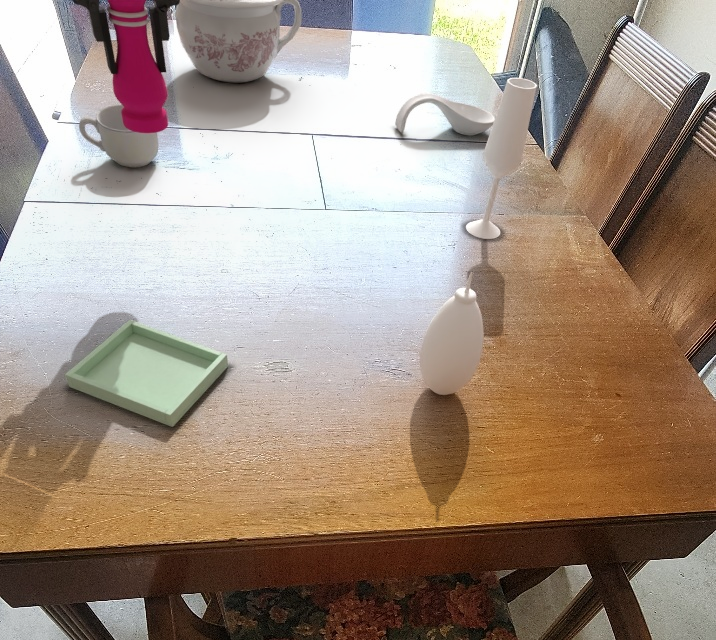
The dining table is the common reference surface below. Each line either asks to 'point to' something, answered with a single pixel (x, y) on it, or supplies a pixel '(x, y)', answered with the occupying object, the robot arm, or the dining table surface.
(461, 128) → the spoon rest
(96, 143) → the teacup
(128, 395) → the tray
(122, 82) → the pepper mill
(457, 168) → the dining table surface
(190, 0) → the chamber pot
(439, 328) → the sauce bottle
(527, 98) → the champagne flute
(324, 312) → the dining table surface
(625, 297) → the dining table surface
